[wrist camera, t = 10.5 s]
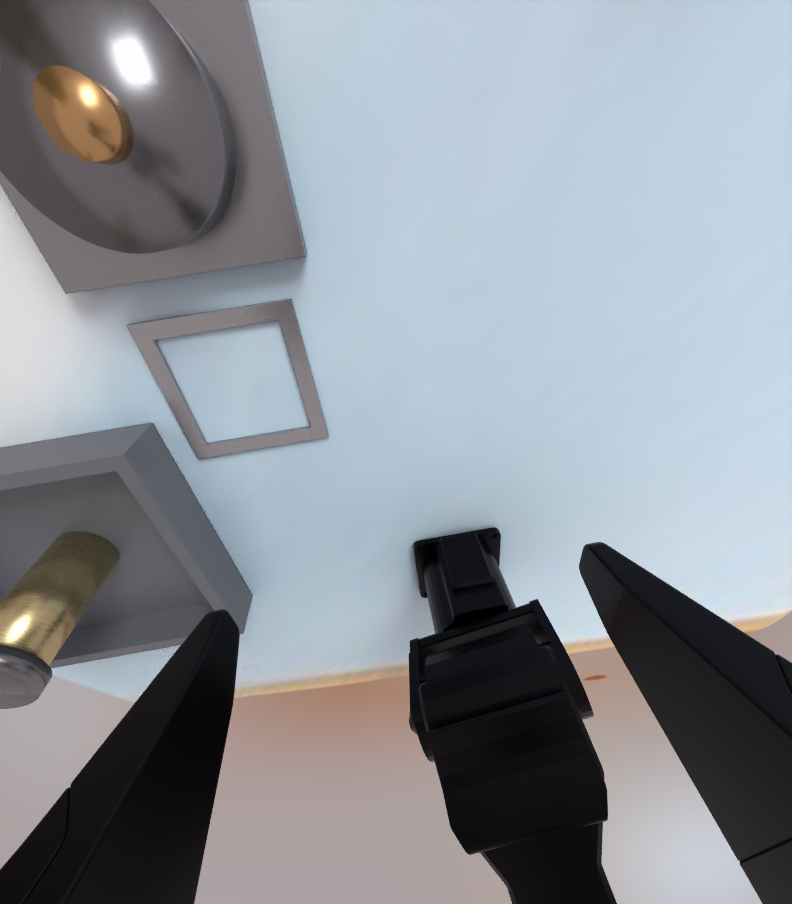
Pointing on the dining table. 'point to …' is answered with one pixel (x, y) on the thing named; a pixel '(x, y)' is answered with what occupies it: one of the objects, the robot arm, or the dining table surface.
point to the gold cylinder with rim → (48, 611)
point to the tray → (119, 538)
